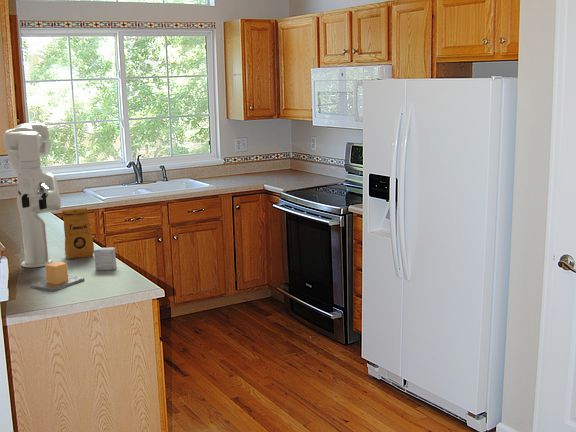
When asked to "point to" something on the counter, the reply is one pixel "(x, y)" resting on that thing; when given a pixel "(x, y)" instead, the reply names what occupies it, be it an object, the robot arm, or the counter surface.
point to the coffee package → (77, 234)
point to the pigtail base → (53, 287)
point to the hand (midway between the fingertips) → (34, 208)
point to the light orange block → (56, 272)
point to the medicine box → (105, 258)
